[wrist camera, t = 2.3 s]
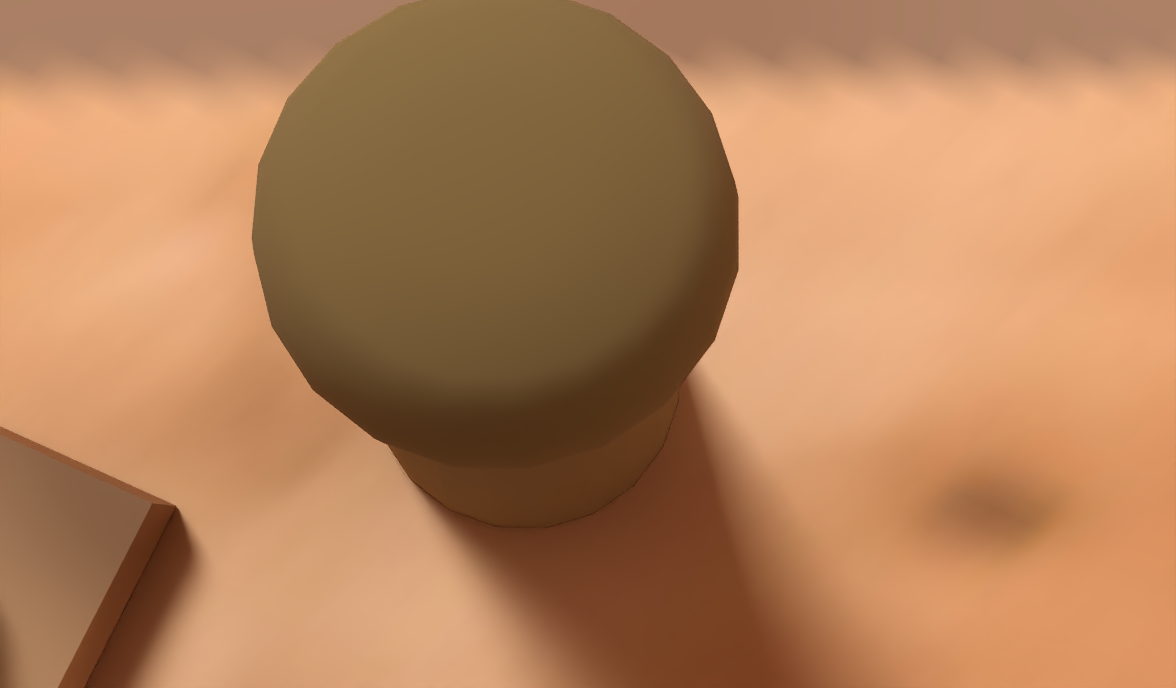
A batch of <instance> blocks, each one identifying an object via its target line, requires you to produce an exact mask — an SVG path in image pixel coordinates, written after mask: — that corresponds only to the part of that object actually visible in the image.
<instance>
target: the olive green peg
mask: <svg viewBox="0 0 1176 688" xmlns="http://www.w3.org/2000/svg"><path fill="white" fill-rule="evenodd" d="M252 243H253V250H254V256H255V260H256V264H257V268H258V272H259V276H260V280H261V284H262V288H263V292H264V296H265V301H266V305H267V309H268V313H269V317H270V321H271V325H272V327H273V329H274V330H275V332H276V334H277V335H278V337H279V338H280V340H281V341H282V343H283V344H284V346H285V347H286V349H287V351H288V352H289V354H290V355H291V357H292V358H293V360H294V361H295V363H296V364H297V366H298V368H299V369H300V371H301V372H302V374H303V375H304V377H305V378H306V380H307V382H308V383H309V385H310V386H311V388H312V389H313V390H314V391H315V392H316V393H317V394H319V395H320V396H321V397H322V398H324V399H325V400H326V401H327V402H329V403H330V404H331V405H333V406H334V407H335V408H336V409H338V410H339V411H340V412H341V413H343V414H344V415H345V416H346V417H348V418H349V419H350V420H352V421H353V422H354V423H355V424H357V425H358V426H359V427H360V428H362V429H363V430H364V431H366V432H367V433H368V434H369V435H371V436H372V437H373V438H375V439H377V440H379V441H381V442H383V443H385V444H388V446H389V447H390V449H391V450H392V452H393V453H394V455H395V456H396V458H397V459H398V461H399V462H400V464H401V465H402V467H403V468H404V470H405V472H406V473H407V475H408V476H409V478H410V479H411V480H412V481H413V482H415V483H416V484H417V485H418V486H420V487H421V488H422V489H424V490H425V491H426V492H427V493H429V494H430V495H431V496H432V497H434V498H435V499H436V500H437V501H439V502H440V503H441V504H443V505H444V506H445V507H446V508H448V509H449V510H451V511H454V512H457V513H460V514H462V515H465V516H468V517H471V518H473V519H476V520H479V521H482V522H484V523H487V524H490V525H493V526H496V527H530V528H547V527H550V526H554V525H557V524H560V523H564V522H567V521H570V520H574V519H577V518H580V517H584V516H587V515H590V514H593V513H595V512H596V511H598V510H599V509H601V508H602V507H604V506H605V505H606V504H608V503H609V502H611V501H612V500H614V499H615V498H616V497H618V496H619V495H621V494H622V493H624V492H625V491H627V490H628V489H629V488H631V487H632V486H634V485H635V483H636V482H637V481H638V479H639V478H640V477H641V475H642V474H643V473H644V471H645V470H646V469H647V467H648V466H649V465H650V463H651V462H652V461H653V459H654V458H655V457H656V455H657V454H658V453H659V451H660V450H661V449H662V447H663V445H664V443H665V440H666V437H667V434H668V431H669V428H670V425H671V422H672V419H673V416H674V413H675V410H676V407H677V404H678V401H679V387H680V385H681V384H682V383H683V381H684V380H685V379H686V377H687V376H688V375H689V373H690V372H691V371H692V369H693V368H694V367H695V365H696V364H697V363H698V361H699V360H700V359H701V358H702V356H703V355H704V354H705V352H706V351H707V350H708V348H709V347H710V346H711V344H712V343H713V342H714V340H715V338H716V335H717V332H718V329H719V326H720V323H721V320H722V317H723V314H724V311H725V308H726V305H727V302H728V299H729V296H730V293H731V290H732V287H733V284H734V282H735V279H736V276H737V273H738V193H737V189H736V185H735V181H734V178H733V175H732V172H731V169H730V166H729V163H728V160H727V157H726V154H725V151H724V148H723V145H722V142H721V139H720V136H719V133H718V130H717V127H716V124H715V121H714V118H713V115H712V113H711V111H710V110H709V109H708V107H707V106H706V105H705V103H704V102H703V101H702V99H701V98H700V97H699V95H698V94H697V93H696V91H695V90H694V89H693V87H692V86H691V85H690V83H689V82H688V81H687V79H686V78H685V77H684V75H683V74H682V73H681V71H680V70H679V69H678V67H677V66H676V65H675V63H674V62H673V61H672V59H671V58H670V57H669V56H668V55H667V54H666V53H664V52H663V51H661V50H660V49H659V48H657V47H656V46H654V45H653V44H652V43H650V42H649V41H647V40H646V39H645V38H643V37H642V36H641V35H639V34H638V33H636V32H635V31H634V30H632V29H631V28H629V27H628V26H627V25H625V24H624V23H622V22H621V21H620V20H618V19H617V18H615V17H614V16H613V15H611V14H609V13H606V12H603V11H600V10H597V9H594V8H591V7H588V6H585V5H582V4H579V3H577V2H573V1H571V0H421V1H417V2H413V3H410V4H405V5H402V6H398V7H397V8H395V9H393V10H392V11H390V12H388V13H387V14H385V15H383V16H382V17H380V18H378V19H377V20H375V21H373V22H372V23H370V24H368V25H367V26H365V27H363V28H362V29H360V30H358V31H357V32H355V33H353V34H352V35H350V36H348V37H347V38H345V39H343V40H342V41H340V42H338V43H337V44H336V45H335V46H334V47H333V48H332V49H331V50H330V51H329V53H328V54H327V55H326V56H325V57H324V58H323V59H322V60H321V62H320V63H319V64H318V65H317V66H316V67H315V68H314V69H313V70H312V72H311V73H310V74H309V75H308V76H307V77H306V78H305V79H304V81H303V82H302V83H301V84H300V85H299V86H298V87H297V88H296V90H295V91H294V92H293V93H292V94H291V95H290V96H289V97H288V99H287V101H286V103H285V106H284V108H283V110H282V112H281V115H280V117H279V119H278V121H277V124H276V126H275V128H274V131H273V133H272V135H271V137H270V140H269V142H268V144H267V146H266V149H265V151H264V153H263V156H262V158H261V160H260V162H259V165H258V175H257V186H256V197H255V208H254V219H253V230H252Z"/></svg>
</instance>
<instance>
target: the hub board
mask: <svg viewBox="0 0 1176 688" xmlns="http://www.w3.org/2000/svg"><path fill="white" fill-rule="evenodd" d="M175 508H176V506H175V505H173V504H171V503H169V502H166V501H164V500H162V499H160V498H157V497H155V496H153V495H151V494H149V493H146V492H144V491H142V490H140V489H137V488H135V487H133V486H131V485H129V484H126V483H124V482H122V481H120V480H118V479H115V478H113V477H111V476H109V475H106V474H104V473H102V472H100V471H98V470H95V469H93V468H91V467H89V466H86V465H84V464H82V463H80V462H78V461H75V460H73V459H71V458H69V457H66V456H64V455H62V454H60V453H58V452H55V451H53V450H51V449H49V448H47V447H44V446H42V445H40V444H38V443H35V442H33V441H31V440H29V439H27V438H24V437H22V436H20V435H18V434H15V433H13V432H11V431H9V430H7V429H4V428H2V427H0V688H84V687H85V685H86V683H87V681H88V679H89V677H90V675H91V673H92V671H93V669H94V667H95V665H96V663H97V661H98V659H99V657H100V655H101V653H102V651H103V649H104V648H105V646H106V644H107V642H108V640H109V638H110V636H111V634H112V632H113V630H114V628H115V626H116V624H117V622H118V620H119V618H120V616H121V614H122V612H123V610H124V608H125V606H126V604H127V602H128V600H129V598H130V596H131V594H132V592H133V590H134V588H135V587H136V585H137V583H138V581H139V579H140V577H141V575H142V573H143V571H144V569H145V567H146V565H147V563H148V561H149V559H150V557H151V555H152V553H153V551H154V549H155V547H156V545H157V543H158V541H159V539H160V537H161V535H162V533H163V531H164V529H165V527H166V526H167V524H168V522H169V520H170V518H171V516H172V514H173V512H174V510H175Z"/></svg>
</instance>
